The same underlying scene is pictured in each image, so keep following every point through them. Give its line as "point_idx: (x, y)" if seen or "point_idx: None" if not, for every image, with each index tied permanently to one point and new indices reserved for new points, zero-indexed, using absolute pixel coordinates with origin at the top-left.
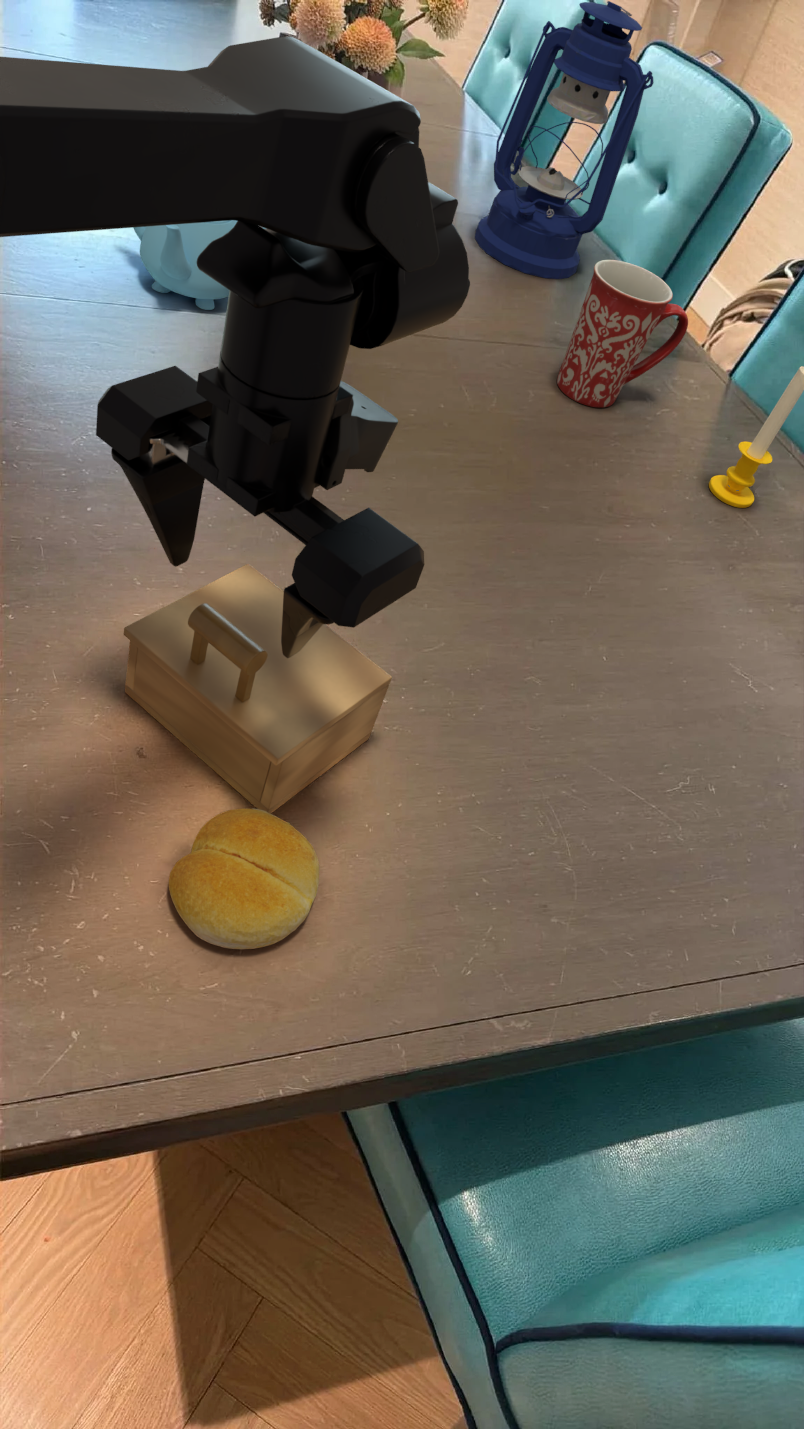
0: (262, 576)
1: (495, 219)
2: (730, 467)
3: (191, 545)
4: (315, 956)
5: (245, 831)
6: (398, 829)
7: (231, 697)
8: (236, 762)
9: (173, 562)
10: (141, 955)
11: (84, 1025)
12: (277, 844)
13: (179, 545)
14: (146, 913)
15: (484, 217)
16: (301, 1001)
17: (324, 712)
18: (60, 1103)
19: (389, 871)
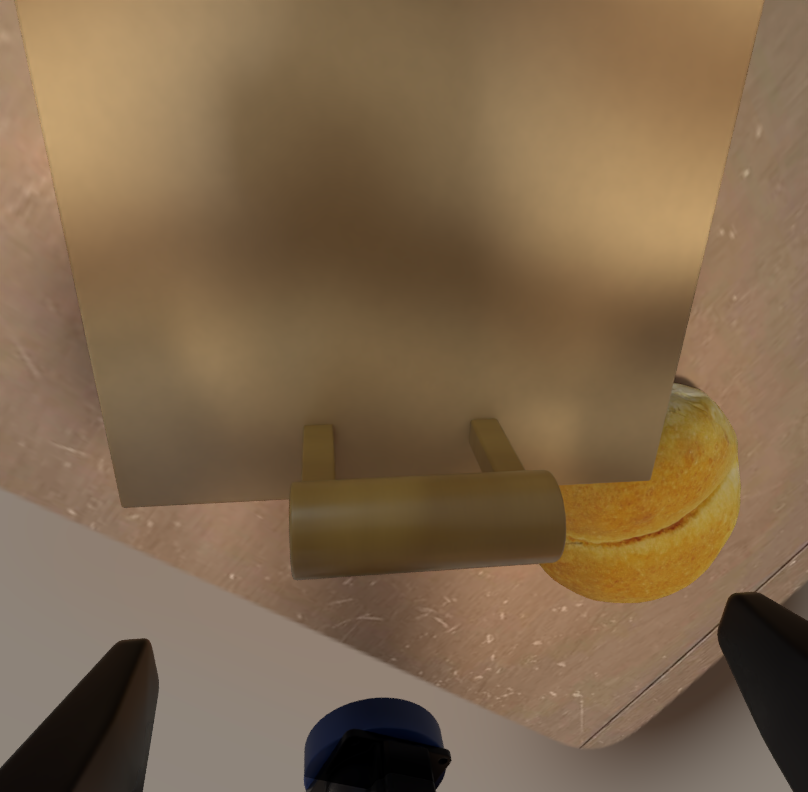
0: None
1: None
2: None
3: (125, 701)
4: (754, 469)
5: (629, 521)
6: (779, 187)
7: (465, 450)
8: None
9: (152, 718)
10: (570, 613)
11: (577, 685)
12: (686, 499)
13: (125, 783)
14: (537, 582)
15: None
16: (766, 520)
17: (664, 299)
18: (611, 727)
19: (797, 278)
